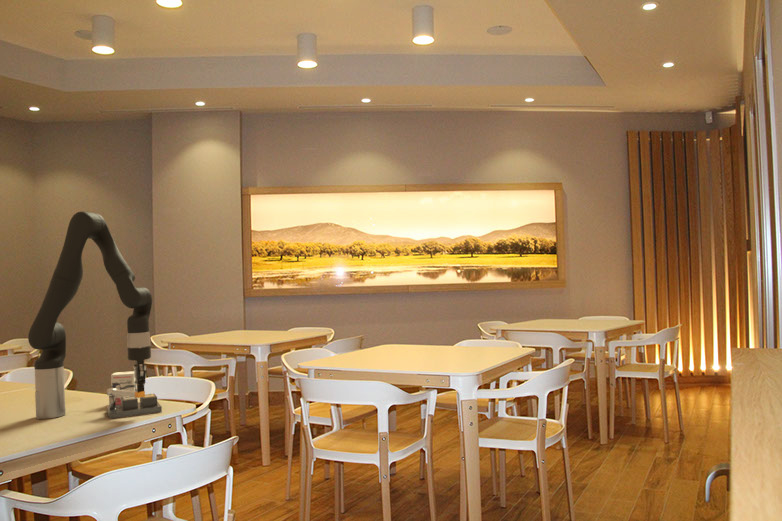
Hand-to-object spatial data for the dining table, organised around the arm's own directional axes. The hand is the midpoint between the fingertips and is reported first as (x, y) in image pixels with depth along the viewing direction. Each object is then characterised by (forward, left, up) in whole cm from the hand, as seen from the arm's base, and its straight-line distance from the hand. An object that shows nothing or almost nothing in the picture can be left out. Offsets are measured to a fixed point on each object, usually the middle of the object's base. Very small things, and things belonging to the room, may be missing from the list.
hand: (140, 395), depth 231 cm
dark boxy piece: (-2, +9, -7) cm, 12 cm away
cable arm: (-5, +3, 0) cm, 6 cm away
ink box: (-3, +29, -7) cm, 30 cm away
